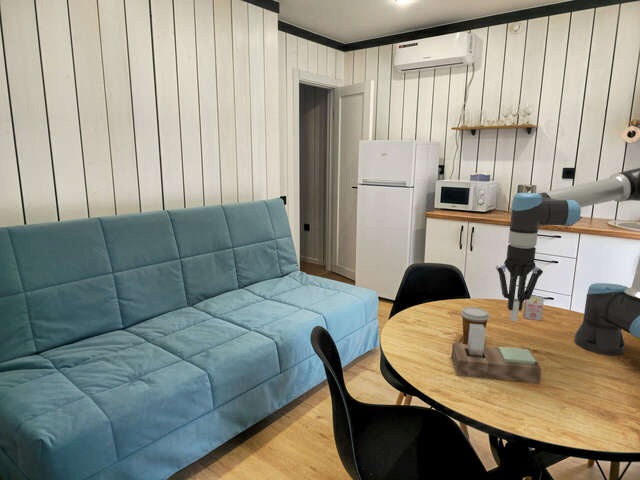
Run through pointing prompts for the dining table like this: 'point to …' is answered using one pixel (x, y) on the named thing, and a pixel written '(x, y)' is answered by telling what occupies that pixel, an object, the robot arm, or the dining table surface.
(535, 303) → the tea bag
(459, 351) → the walnut block
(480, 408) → the dining table surface
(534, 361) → the plate
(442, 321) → the dining table surface
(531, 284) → the robot arm
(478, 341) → the steel pin
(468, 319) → the disposable coffee cup
